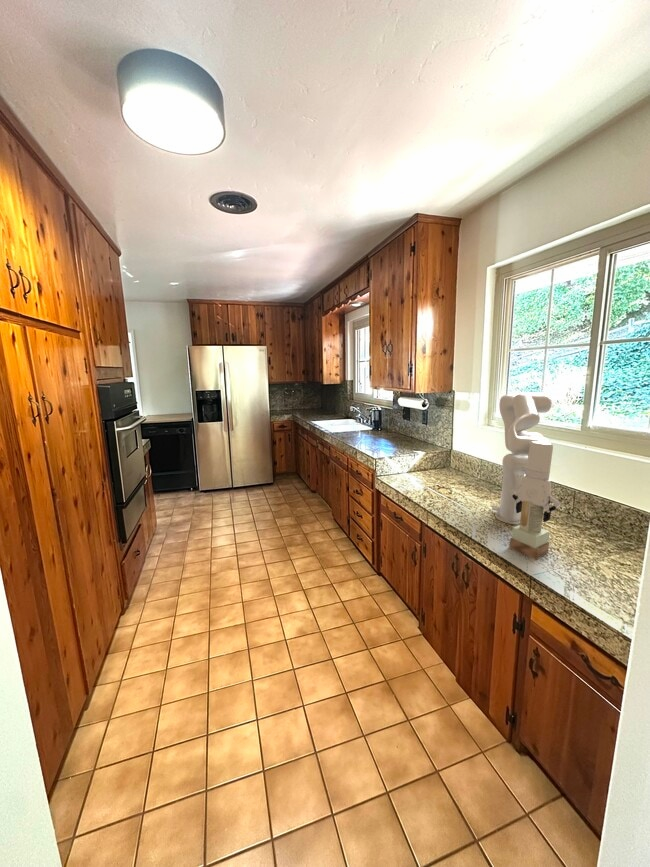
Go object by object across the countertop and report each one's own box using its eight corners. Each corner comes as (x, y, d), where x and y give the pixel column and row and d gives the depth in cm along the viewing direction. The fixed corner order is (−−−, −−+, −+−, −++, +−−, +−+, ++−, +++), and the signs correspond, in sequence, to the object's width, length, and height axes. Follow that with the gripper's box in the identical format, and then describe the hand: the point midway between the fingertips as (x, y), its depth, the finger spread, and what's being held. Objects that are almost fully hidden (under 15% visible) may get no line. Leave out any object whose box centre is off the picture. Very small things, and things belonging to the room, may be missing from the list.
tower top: (511, 538, 136) (512, 527, 135) (524, 532, 140) (526, 522, 139) (535, 548, 128) (536, 537, 127) (548, 542, 132) (549, 531, 132)
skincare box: (534, 526, 136) (537, 497, 133) (541, 531, 131) (545, 501, 129) (518, 527, 135) (522, 497, 133) (525, 532, 131) (529, 502, 128)
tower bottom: (509, 549, 136) (510, 538, 135) (521, 541, 142) (522, 531, 141) (536, 560, 128) (537, 549, 127) (547, 552, 134) (549, 541, 133)
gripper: (508, 469, 133) (504, 511, 137) (559, 482, 120) (552, 527, 123) (518, 466, 138) (513, 506, 141) (567, 477, 124) (561, 522, 127)
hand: (531, 516), depth 132 cm, fingers open, 9 cm apart
